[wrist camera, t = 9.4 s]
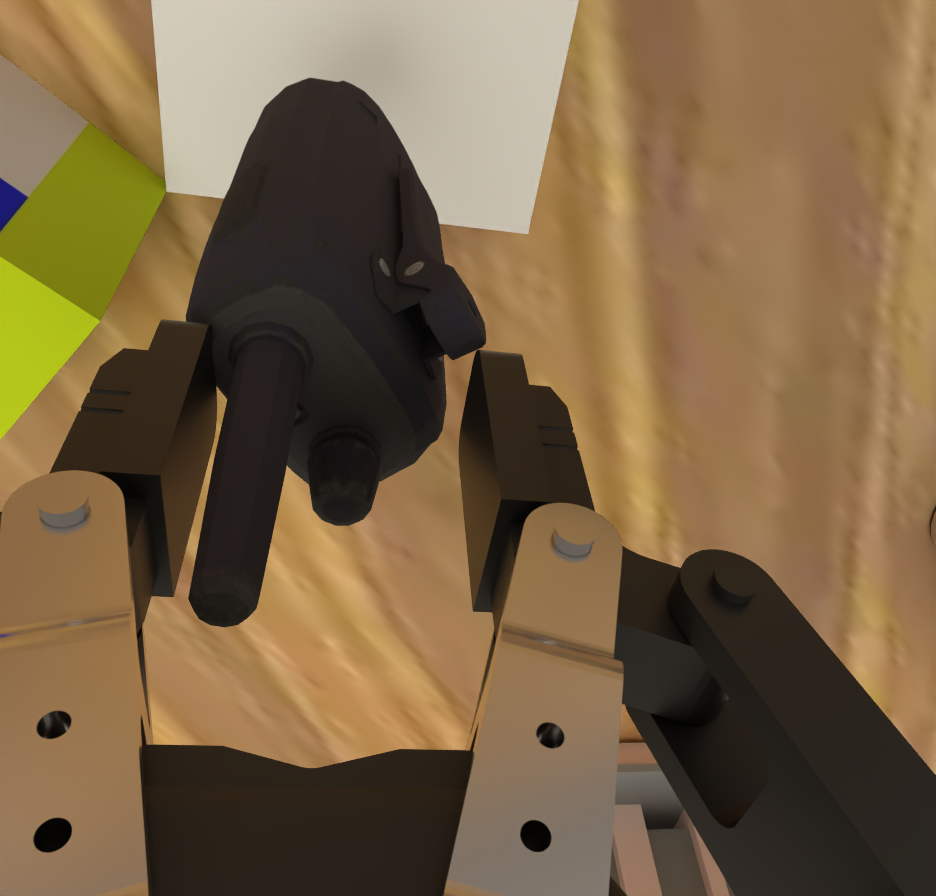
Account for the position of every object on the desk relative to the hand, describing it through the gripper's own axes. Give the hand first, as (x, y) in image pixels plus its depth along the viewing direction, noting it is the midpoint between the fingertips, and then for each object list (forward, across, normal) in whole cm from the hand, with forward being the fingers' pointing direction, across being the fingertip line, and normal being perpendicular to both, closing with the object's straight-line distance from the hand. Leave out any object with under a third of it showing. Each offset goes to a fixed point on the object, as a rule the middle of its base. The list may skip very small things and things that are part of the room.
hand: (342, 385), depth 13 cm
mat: (+20, 0, 0) cm, 20 cm away
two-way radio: (+10, 0, 0) cm, 10 cm away
